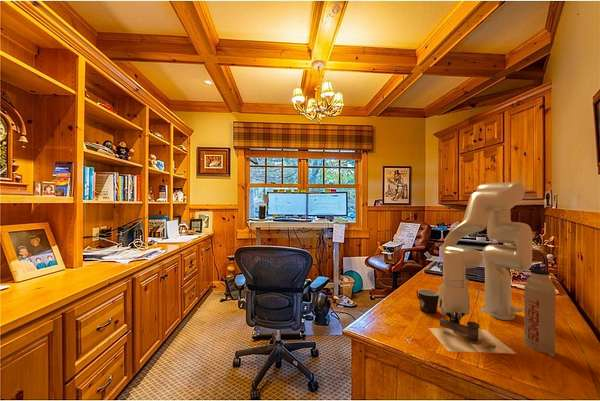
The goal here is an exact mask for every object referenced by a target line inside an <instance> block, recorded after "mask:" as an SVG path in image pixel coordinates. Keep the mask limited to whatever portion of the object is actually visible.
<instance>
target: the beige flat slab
mask: <svg viewBox="0 0 600 401" xmlns="http://www.w3.org/2000/svg"><path fill="white" fill-rule="evenodd" d="M428 330H429V331H430V332H431V333H432V334H433V335H434V336H435V337H436V339H437V340H438V341H439V342H440V343H441V345H442V346H443V347H444V348H445V350H447V352H448V353H449V352H453V353H454V352H455V353H482V354H484V353H485V354H489V353H490V354H508V355H509V354H510V355H511V354H516V355H517V352H516V351H514V350H513V349H512V348H510V347H509V346H508V345H507V344H505V343H504V342H502V341H501V339H499V338H497V336H495V335H493V334H492V333H491V332H490V331H489V330H487V329H480V328H478V338H480V339H483V340H486V341H489V342H492V343H495V346H493V345H490V344H487V343H484V342H481V341H472V340H470V339H468V335H466V334H463V333H460V332H457V331H454V330H451V329H448V328H444V327H443V328H439V327H438V328H437V327H435V328H434V327H433V328H432V327H428Z"/></svg>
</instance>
